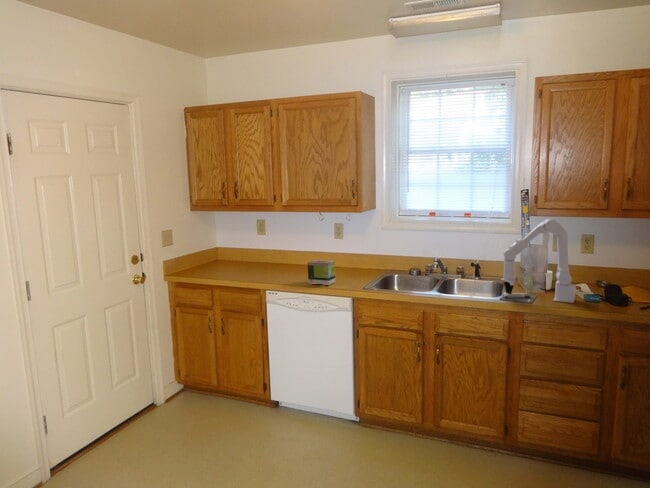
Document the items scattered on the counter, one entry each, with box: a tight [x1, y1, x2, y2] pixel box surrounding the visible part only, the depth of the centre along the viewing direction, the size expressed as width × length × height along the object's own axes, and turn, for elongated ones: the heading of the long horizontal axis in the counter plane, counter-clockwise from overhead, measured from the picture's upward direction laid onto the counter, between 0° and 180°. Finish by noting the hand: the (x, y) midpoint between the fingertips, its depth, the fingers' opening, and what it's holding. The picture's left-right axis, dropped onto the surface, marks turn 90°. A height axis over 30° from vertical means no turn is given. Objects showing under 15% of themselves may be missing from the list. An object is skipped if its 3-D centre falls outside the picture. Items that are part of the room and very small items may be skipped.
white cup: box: [545, 269, 554, 291], centre depth 275 cm, size 8×8×10 cm
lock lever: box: [503, 291, 531, 298], centre depth 257 cm, size 14×4×2 cm, turn 87°
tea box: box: [307, 259, 336, 285], centre depth 304 cm, size 15×10×15 cm, turn 63°
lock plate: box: [499, 294, 537, 304], centre depth 258 cm, size 16×15×1 cm
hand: (508, 295), depth 259 cm, fingers closed
